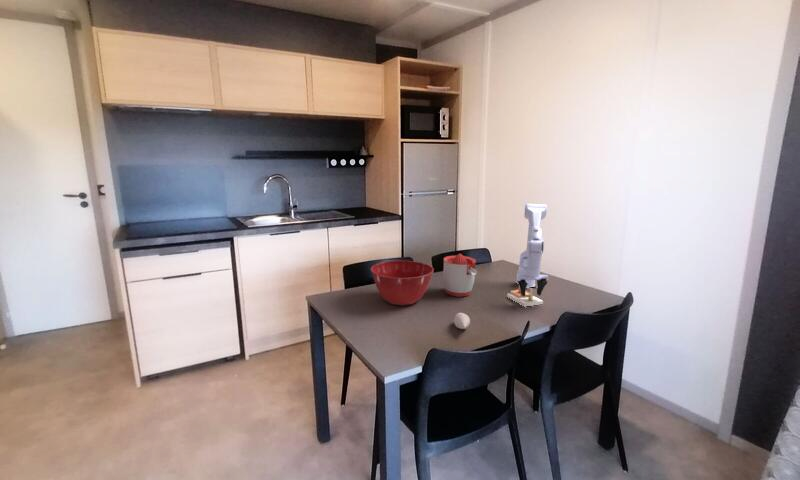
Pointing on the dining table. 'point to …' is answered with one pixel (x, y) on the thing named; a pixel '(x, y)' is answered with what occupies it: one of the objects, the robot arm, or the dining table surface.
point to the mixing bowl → (402, 280)
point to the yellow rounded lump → (529, 295)
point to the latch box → (525, 300)
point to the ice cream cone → (461, 321)
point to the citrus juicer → (459, 275)
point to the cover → (518, 293)
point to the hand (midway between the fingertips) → (530, 295)
